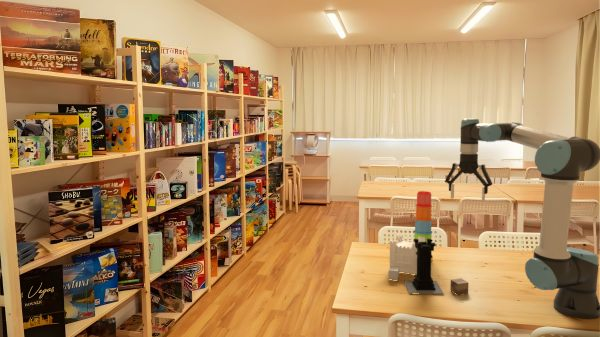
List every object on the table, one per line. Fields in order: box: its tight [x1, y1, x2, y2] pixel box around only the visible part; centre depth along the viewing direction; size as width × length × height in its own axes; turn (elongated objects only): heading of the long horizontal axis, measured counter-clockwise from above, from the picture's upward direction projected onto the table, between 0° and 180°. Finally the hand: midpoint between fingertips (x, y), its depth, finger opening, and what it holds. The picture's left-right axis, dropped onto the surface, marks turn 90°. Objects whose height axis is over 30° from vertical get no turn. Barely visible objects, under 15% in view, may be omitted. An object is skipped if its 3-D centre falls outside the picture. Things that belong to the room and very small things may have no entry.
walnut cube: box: [449, 277, 469, 296], centre depth 184 cm, size 5×5×5 cm
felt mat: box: [403, 279, 445, 295], centre depth 190 cm, size 14×14×1 cm
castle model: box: [389, 233, 425, 275], centre depth 212 cm, size 14×14×15 cm
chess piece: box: [412, 238, 436, 290], centre depth 188 cm, size 8×8×20 cm
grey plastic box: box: [388, 265, 400, 281], centre depth 200 cm, size 6×4×5 cm, turn 161°
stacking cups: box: [413, 190, 434, 261], centre depth 224 cm, size 10×10×35 cm
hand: (467, 199), depth 202 cm, fingers open, 13 cm apart
